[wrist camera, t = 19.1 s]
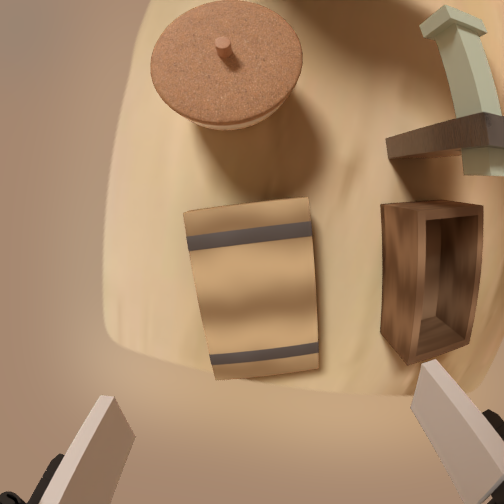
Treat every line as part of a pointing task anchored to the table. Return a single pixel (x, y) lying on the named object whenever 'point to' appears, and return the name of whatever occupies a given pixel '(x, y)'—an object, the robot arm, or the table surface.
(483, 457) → the robot arm
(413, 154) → the keeper
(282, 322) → the lid
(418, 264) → the open wooden box
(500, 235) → the table surface
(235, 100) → the lidded jar
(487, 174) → the bolt
